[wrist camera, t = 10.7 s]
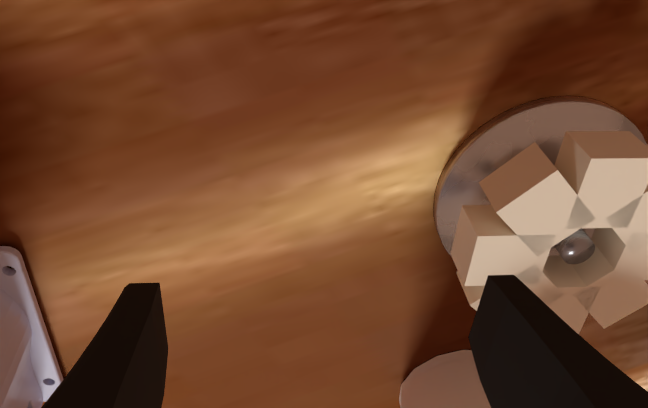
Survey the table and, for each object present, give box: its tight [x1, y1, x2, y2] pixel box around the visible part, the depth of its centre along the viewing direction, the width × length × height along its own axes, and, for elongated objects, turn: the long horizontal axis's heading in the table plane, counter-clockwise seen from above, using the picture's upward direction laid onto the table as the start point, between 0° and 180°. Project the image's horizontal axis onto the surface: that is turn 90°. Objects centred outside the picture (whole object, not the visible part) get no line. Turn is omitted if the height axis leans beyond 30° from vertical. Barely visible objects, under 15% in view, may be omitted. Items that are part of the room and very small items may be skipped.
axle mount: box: [433, 96, 647, 264], centre depth 22 cm, size 9×9×4 cm
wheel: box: [451, 131, 648, 334], centre depth 21 cm, size 8×8×2 cm
